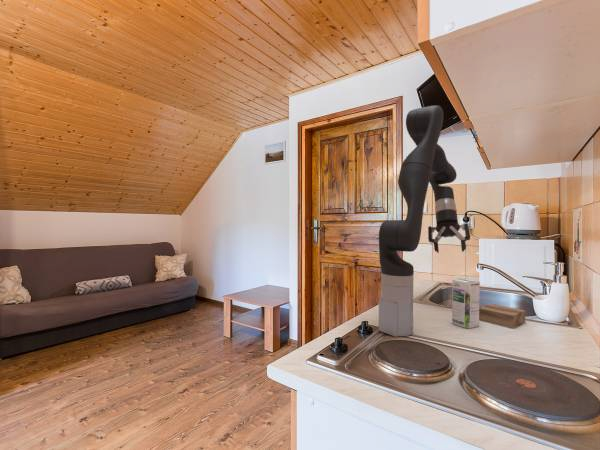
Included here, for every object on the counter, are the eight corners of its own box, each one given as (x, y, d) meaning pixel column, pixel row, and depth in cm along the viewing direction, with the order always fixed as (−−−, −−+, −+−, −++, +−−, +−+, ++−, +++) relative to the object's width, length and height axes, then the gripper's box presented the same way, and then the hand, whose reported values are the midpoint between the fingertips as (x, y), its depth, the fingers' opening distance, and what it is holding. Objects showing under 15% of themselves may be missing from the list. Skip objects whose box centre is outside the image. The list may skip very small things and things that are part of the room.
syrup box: (450, 323, 95) (451, 278, 95) (463, 321, 97) (463, 277, 97) (467, 329, 89) (468, 282, 89) (479, 326, 92) (480, 280, 92)
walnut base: (513, 328, 90) (513, 315, 90) (478, 319, 98) (478, 308, 98) (525, 322, 96) (525, 310, 96) (491, 314, 104) (491, 303, 104)
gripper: (425, 210, 115) (428, 250, 110) (466, 206, 109) (472, 247, 104) (427, 217, 122) (430, 255, 116) (466, 213, 115) (471, 253, 110)
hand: (450, 251), depth 110 cm, fingers open, 8 cm apart
